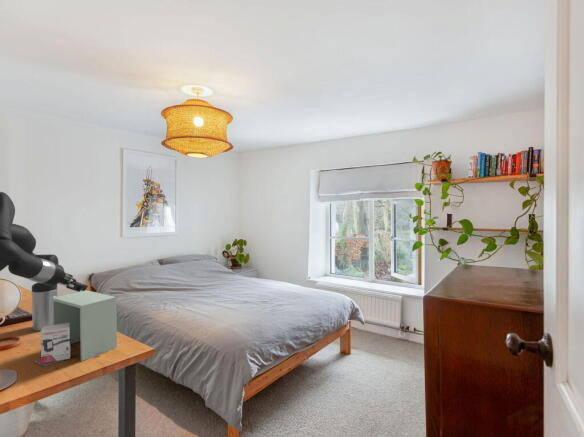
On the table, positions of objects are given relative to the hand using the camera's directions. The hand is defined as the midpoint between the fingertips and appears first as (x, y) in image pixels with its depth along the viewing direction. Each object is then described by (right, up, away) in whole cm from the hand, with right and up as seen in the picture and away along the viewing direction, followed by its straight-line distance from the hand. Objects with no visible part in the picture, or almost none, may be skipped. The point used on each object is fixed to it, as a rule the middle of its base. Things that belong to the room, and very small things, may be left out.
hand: (78, 283), depth 123 cm
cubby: (+1, -26, +3) cm, 26 cm away
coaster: (-5, -26, -7) cm, 28 cm away
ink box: (-3, -26, -7) cm, 27 cm away
